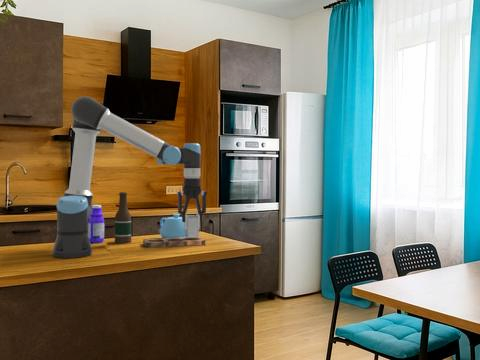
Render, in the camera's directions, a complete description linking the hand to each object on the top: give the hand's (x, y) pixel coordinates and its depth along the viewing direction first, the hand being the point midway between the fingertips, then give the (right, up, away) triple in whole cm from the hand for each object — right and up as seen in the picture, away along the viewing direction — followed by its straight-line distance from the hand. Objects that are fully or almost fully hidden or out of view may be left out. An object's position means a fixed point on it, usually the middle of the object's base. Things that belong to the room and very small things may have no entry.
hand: (191, 229), depth 218 cm
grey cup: (0, -4, 0) cm, 4 cm away
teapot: (-9, -7, +21) cm, 23 cm away
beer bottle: (-32, -8, +2) cm, 32 cm away
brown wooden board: (-8, -8, -2) cm, 11 cm away
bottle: (-46, -7, +8) cm, 47 cm away
